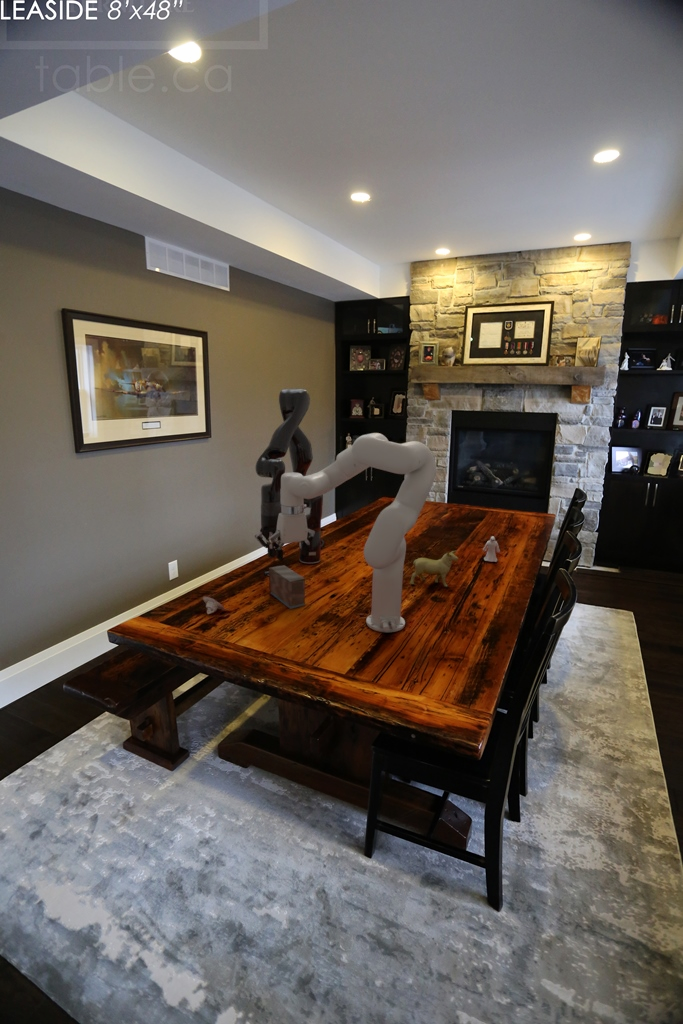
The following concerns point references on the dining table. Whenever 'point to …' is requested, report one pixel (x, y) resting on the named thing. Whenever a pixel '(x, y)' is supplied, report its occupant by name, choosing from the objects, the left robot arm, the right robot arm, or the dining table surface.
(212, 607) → the seashell
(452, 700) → the dining table surface
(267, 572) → the drawer
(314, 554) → the left robot arm
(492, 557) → the figurine
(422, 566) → the toy
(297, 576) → the cabinet
